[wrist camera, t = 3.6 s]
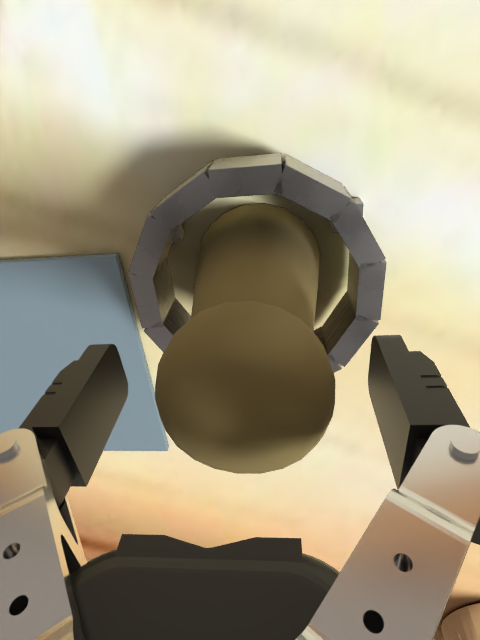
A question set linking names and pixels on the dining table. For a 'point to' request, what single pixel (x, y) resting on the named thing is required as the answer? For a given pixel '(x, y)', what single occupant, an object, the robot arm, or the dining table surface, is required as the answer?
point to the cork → (249, 348)
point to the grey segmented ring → (260, 179)
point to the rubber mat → (72, 339)
